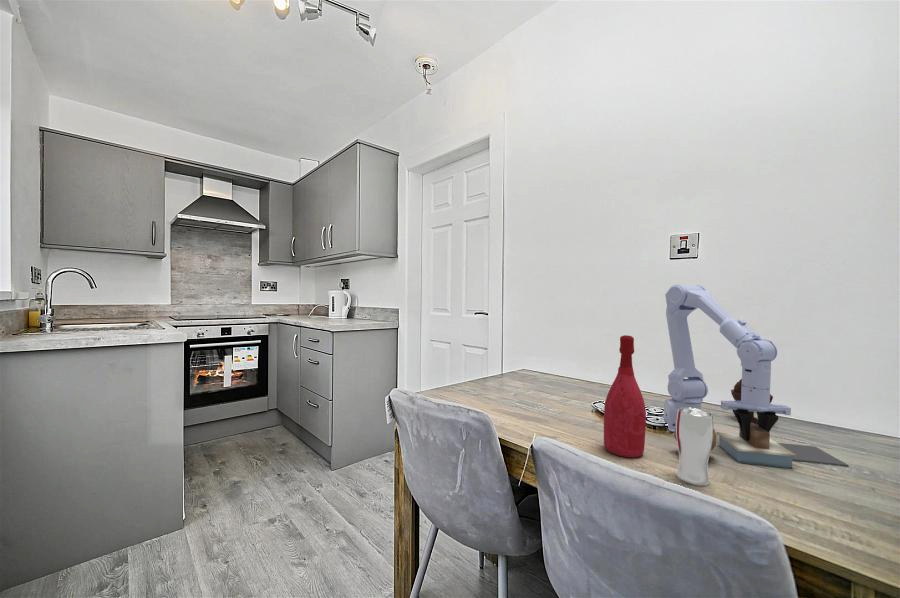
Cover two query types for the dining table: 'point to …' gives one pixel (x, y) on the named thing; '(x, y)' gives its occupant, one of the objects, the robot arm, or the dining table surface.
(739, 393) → the ice cream bowl
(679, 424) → the beer glass
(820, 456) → the mat
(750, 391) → the robot arm
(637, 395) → the wine bottle
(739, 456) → the dish
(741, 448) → the lid
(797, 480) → the dining table surface
